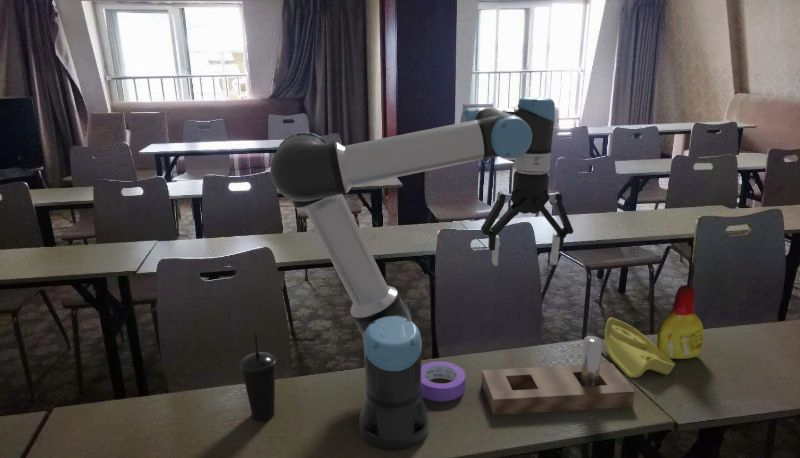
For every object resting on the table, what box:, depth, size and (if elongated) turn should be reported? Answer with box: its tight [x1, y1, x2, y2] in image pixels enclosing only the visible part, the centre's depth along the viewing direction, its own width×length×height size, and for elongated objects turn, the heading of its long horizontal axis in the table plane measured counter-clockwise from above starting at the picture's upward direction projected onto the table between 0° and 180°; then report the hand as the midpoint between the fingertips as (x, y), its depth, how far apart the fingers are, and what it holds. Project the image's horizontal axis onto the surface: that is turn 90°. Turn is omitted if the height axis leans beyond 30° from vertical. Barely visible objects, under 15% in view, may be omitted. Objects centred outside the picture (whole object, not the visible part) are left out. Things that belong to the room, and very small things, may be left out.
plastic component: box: [604, 317, 676, 379], centre depth 148 cm, size 20×7×10 cm
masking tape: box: [421, 361, 466, 402], centre depth 137 cm, size 12×12×4 cm
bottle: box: [656, 284, 704, 360], centre depth 146 cm, size 12×6×20 cm, turn 95°
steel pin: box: [580, 335, 603, 387], centre depth 131 cm, size 4×4×14 cm
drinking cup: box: [239, 333, 277, 422], centre depth 125 cm, size 8×8×20 cm
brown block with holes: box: [481, 362, 636, 416], centre depth 132 cm, size 32×12×4 cm, turn 94°
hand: (524, 263), depth 129 cm, fingers open, 13 cm apart
